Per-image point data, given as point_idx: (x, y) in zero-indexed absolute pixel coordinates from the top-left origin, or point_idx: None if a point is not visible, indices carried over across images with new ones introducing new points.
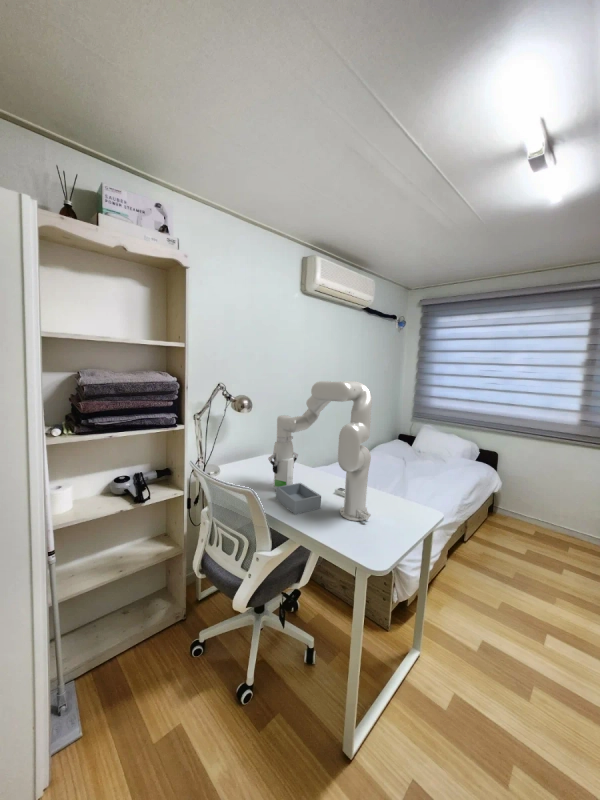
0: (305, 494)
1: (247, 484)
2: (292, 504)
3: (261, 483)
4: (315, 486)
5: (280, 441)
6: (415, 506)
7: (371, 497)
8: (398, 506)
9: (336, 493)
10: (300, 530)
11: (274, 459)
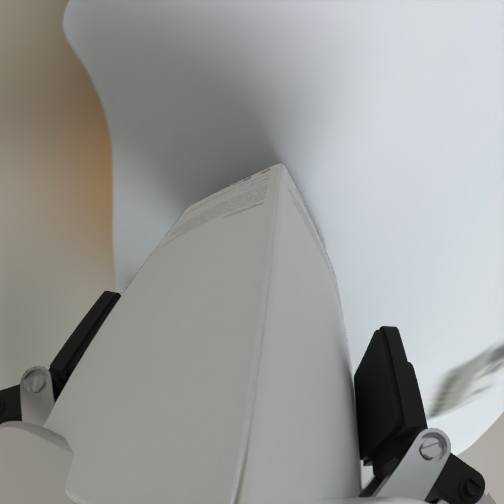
0: None
1: (77, 18)
2: None
3: (172, 17)
4: (481, 285)
5: None
6: (470, 442)
7: (477, 410)
8: (454, 441)
9: (455, 373)
10: None
11: (21, 429)
